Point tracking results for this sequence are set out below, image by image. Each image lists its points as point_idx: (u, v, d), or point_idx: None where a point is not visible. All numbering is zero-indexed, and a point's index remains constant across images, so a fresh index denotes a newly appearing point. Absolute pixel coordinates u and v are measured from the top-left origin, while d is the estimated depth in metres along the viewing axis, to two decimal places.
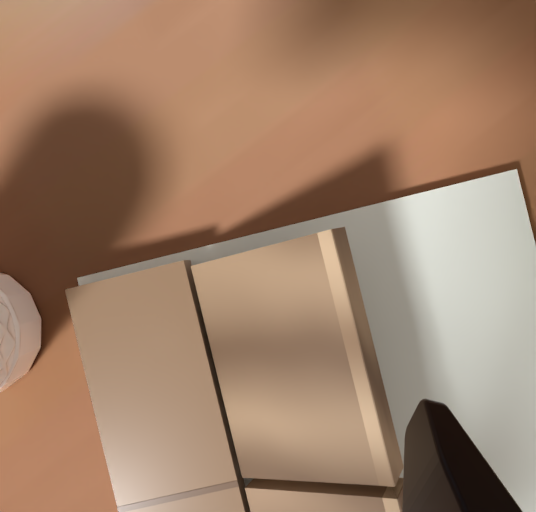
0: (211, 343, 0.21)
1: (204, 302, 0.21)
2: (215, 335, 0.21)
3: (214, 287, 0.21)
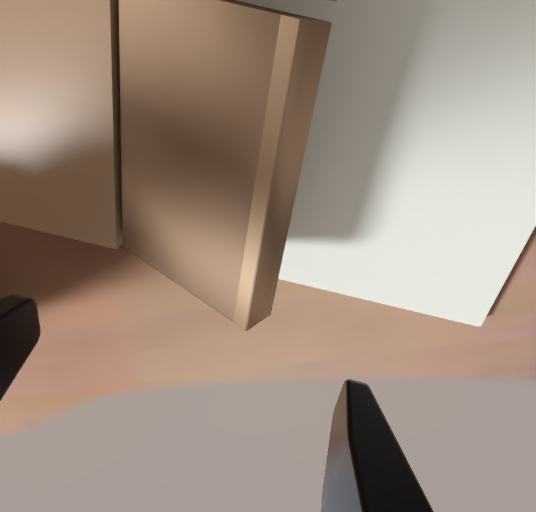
0: None
1: None
2: None
3: None
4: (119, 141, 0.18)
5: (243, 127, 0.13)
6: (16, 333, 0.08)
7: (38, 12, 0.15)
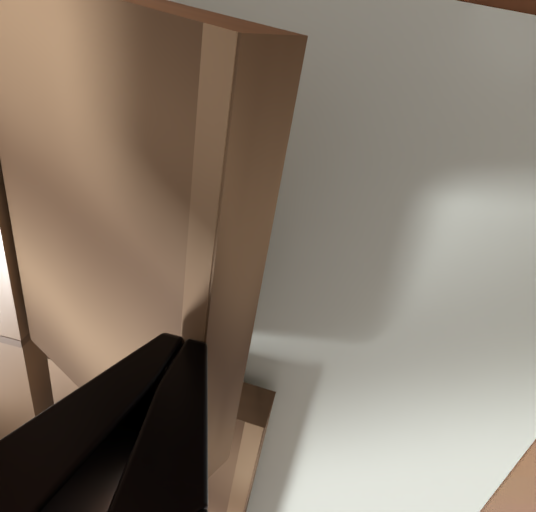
0: None
1: None
2: (4, 134, 0.11)
3: (3, 37, 0.09)
4: None
5: None
6: None
7: None
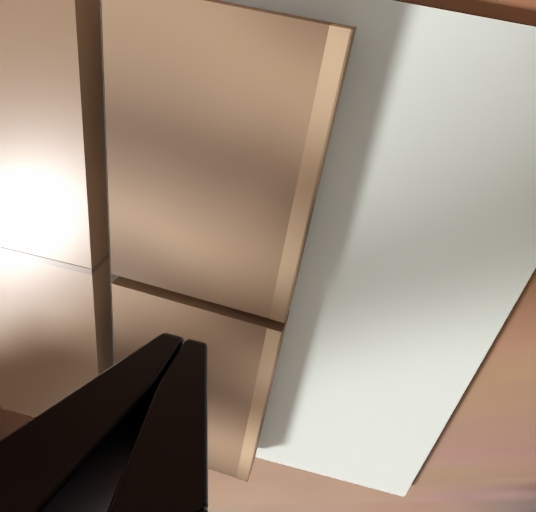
0: (108, 114, 0.15)
1: (111, 50, 0.14)
2: (117, 104, 0.15)
3: (136, 34, 0.13)
4: (103, 366, 0.22)
5: (239, 376, 0.20)
6: None
7: (37, 292, 0.20)
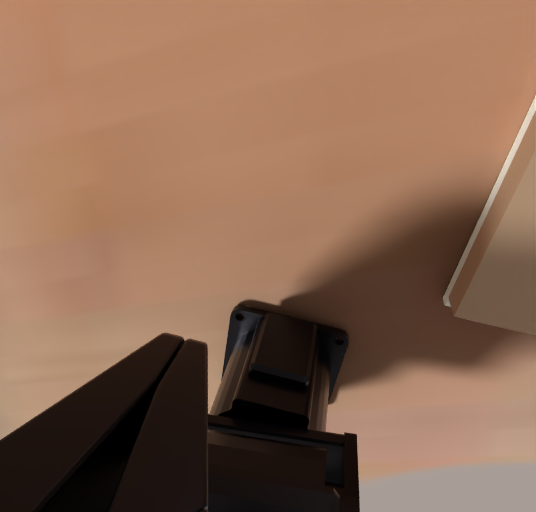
0: None
1: None
2: None
3: None
4: None
5: None
6: None
7: None
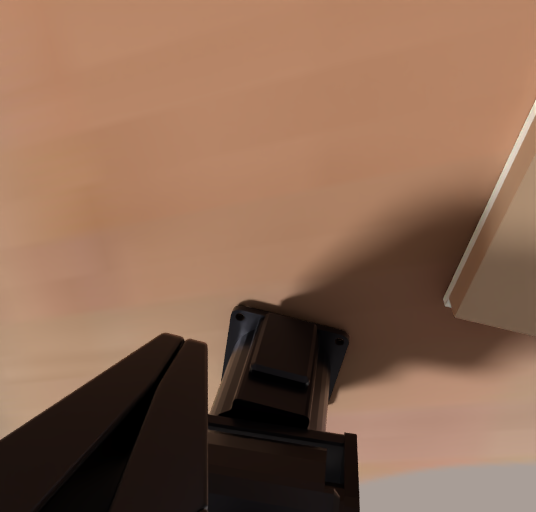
0: None
1: None
2: None
3: None
4: None
5: None
6: None
7: None
